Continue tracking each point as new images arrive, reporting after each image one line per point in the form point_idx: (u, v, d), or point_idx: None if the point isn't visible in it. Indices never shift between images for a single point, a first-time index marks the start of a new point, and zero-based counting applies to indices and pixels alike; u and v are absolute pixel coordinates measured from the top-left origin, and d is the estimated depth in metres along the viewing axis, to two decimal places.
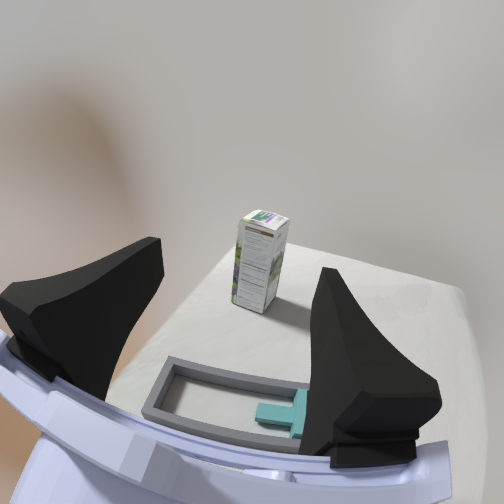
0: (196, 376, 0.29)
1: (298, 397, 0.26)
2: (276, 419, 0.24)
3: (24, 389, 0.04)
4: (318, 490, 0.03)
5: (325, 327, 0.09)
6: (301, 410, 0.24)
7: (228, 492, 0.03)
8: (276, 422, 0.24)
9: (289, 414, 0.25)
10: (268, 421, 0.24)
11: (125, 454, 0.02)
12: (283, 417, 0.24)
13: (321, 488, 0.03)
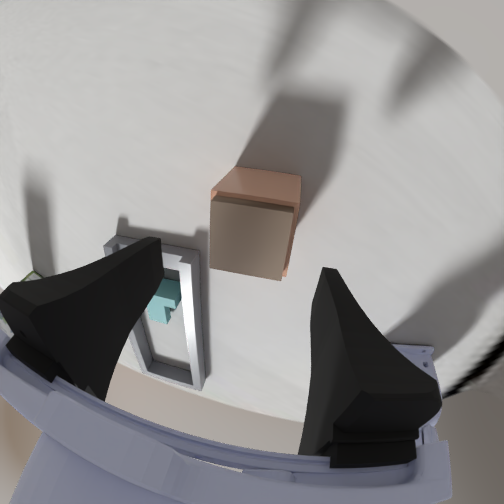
0: (147, 350, 0.31)
1: None
2: (163, 308, 0.24)
3: (24, 389, 0.04)
4: (317, 491, 0.03)
5: (325, 328, 0.09)
6: None
7: (228, 492, 0.03)
8: None
9: None
10: (167, 310, 0.25)
11: (125, 454, 0.02)
12: None
13: (321, 488, 0.03)
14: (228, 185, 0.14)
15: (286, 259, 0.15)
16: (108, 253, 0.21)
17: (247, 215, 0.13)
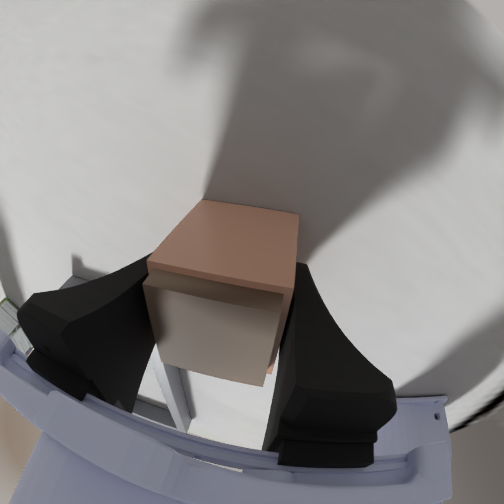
0: None
1: None
2: None
3: (24, 389, 0.04)
4: (317, 491, 0.03)
5: (288, 322, 0.09)
6: None
7: (228, 492, 0.03)
8: None
9: None
10: None
11: (125, 454, 0.02)
12: None
13: (321, 488, 0.03)
14: (177, 247, 0.09)
15: (271, 357, 0.09)
16: None
17: (202, 310, 0.07)
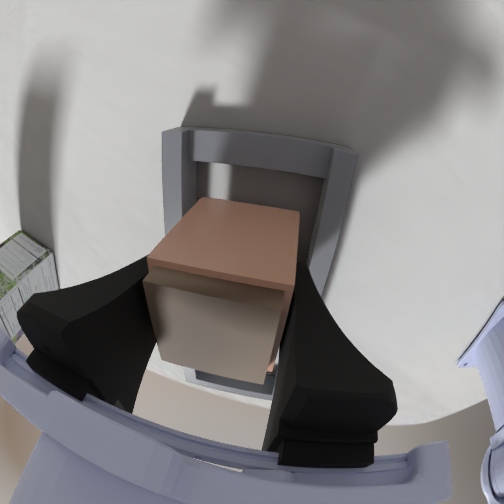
0: None
1: None
2: None
3: (24, 389, 0.04)
4: (317, 491, 0.03)
5: (288, 322, 0.09)
6: None
7: (228, 492, 0.03)
8: None
9: None
10: None
11: (125, 454, 0.02)
12: None
13: (321, 488, 0.03)
14: (178, 244, 0.09)
15: (272, 354, 0.09)
16: (170, 146, 0.11)
17: (202, 307, 0.07)
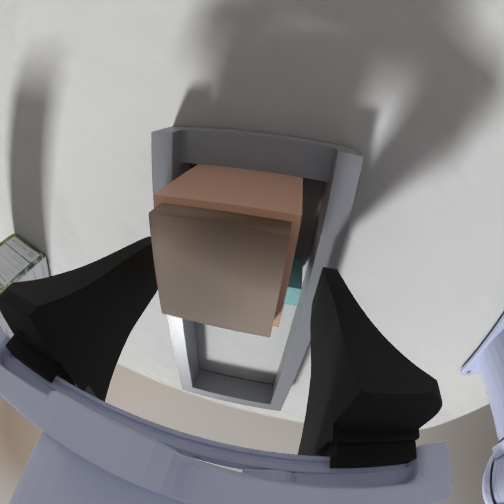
0: (195, 355, 0.20)
1: None
2: None
3: (24, 389, 0.04)
4: (317, 491, 0.03)
5: (325, 328, 0.09)
6: None
7: (228, 492, 0.03)
8: None
9: None
10: None
11: (125, 454, 0.02)
12: None
13: (321, 488, 0.03)
14: (185, 186, 0.09)
15: (278, 303, 0.09)
16: (160, 147, 0.10)
17: (209, 238, 0.07)
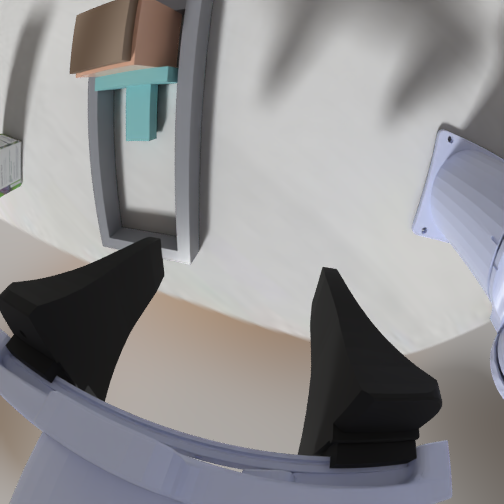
0: (114, 200, 0.20)
1: (108, 87, 0.13)
2: (147, 109, 0.15)
3: (24, 389, 0.04)
4: (317, 491, 0.03)
5: (325, 327, 0.09)
6: (128, 78, 0.13)
7: (228, 492, 0.03)
8: (153, 107, 0.15)
9: (137, 92, 0.14)
10: (153, 119, 0.16)
11: (125, 454, 0.02)
12: (143, 100, 0.15)
13: (321, 488, 0.03)
14: None
15: (133, 45, 0.10)
16: None
17: (98, 12, 0.08)
